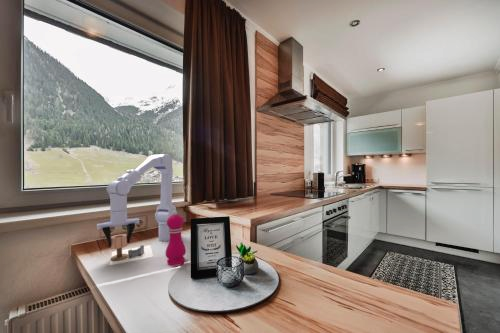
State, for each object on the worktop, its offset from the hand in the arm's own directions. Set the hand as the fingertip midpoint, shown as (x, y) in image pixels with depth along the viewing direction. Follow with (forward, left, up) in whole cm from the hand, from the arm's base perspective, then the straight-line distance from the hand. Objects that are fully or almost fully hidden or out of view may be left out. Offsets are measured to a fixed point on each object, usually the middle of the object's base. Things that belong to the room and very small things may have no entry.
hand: (119, 244), depth 87 cm
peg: (0, 0, -6) cm, 6 cm away
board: (-5, -2, -6) cm, 8 cm away
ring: (0, 0, -1) cm, 1 cm away
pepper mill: (-19, +16, -6) cm, 26 cm away
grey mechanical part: (-6, 0, -6) cm, 8 cm away
